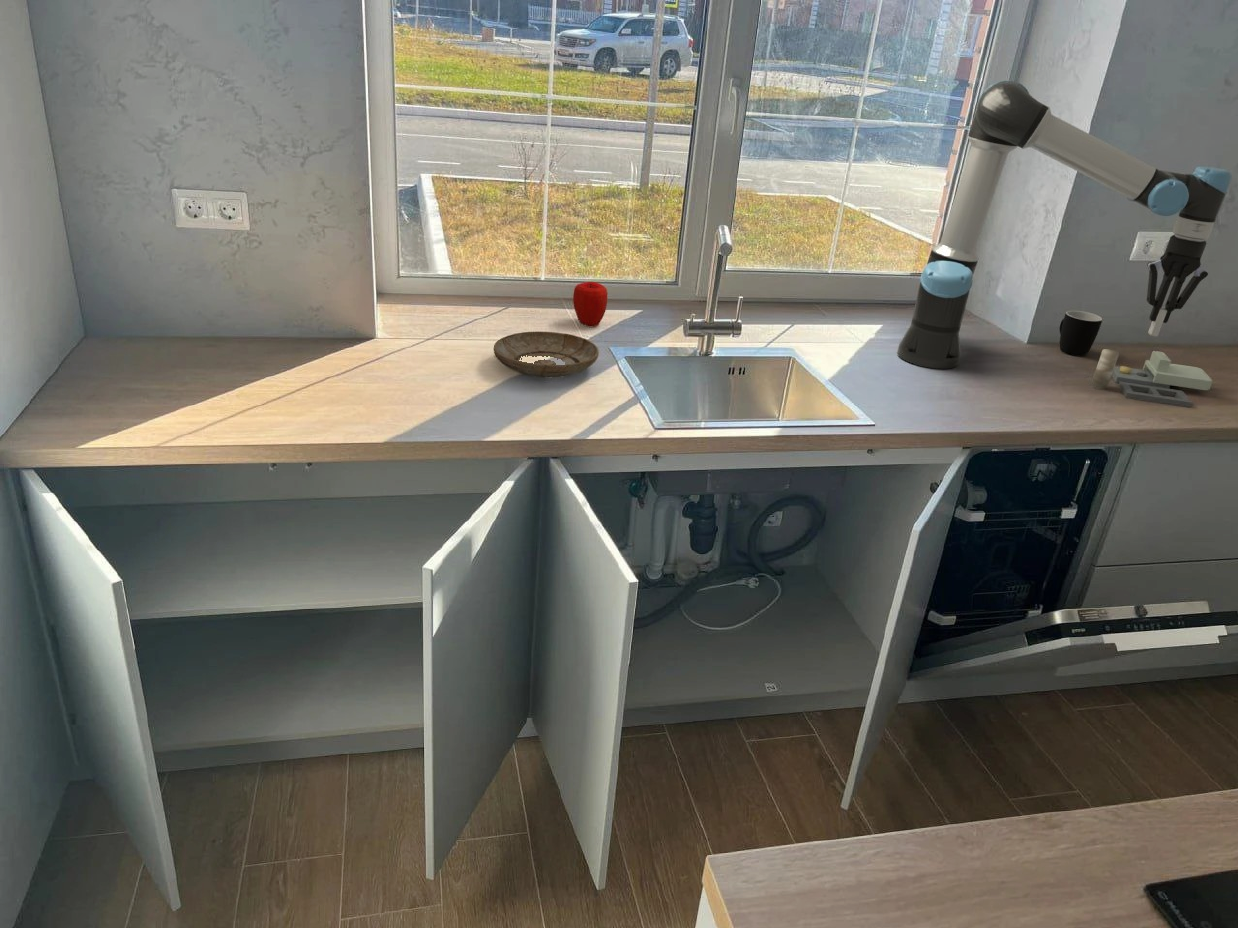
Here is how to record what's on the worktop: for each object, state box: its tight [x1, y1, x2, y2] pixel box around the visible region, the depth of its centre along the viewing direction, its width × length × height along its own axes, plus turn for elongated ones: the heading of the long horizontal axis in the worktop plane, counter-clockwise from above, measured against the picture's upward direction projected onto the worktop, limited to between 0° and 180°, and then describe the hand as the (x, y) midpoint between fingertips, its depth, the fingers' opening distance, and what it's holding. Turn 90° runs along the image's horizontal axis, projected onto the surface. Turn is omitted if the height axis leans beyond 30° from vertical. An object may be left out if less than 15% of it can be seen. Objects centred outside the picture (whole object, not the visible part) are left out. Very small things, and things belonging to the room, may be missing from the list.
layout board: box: [1111, 365, 1171, 389], centre depth 227 cm, size 12×9×3 cm
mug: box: [1059, 310, 1103, 357], centre depth 244 cm, size 12×9×10 cm
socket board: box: [1117, 382, 1193, 408], centre depth 218 cm, size 14×8×1 cm, turn 75°
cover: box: [1142, 350, 1214, 391], centre depth 224 cm, size 13×10×5 cm
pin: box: [1090, 348, 1120, 391], centre depth 219 cm, size 4×4×9 cm
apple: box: [572, 281, 608, 327], centre depth 233 cm, size 9×9×11 cm
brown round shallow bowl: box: [493, 330, 600, 379], centre depth 204 cm, size 23×24×5 cm
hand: (1152, 334), depth 222 cm, fingers closed
